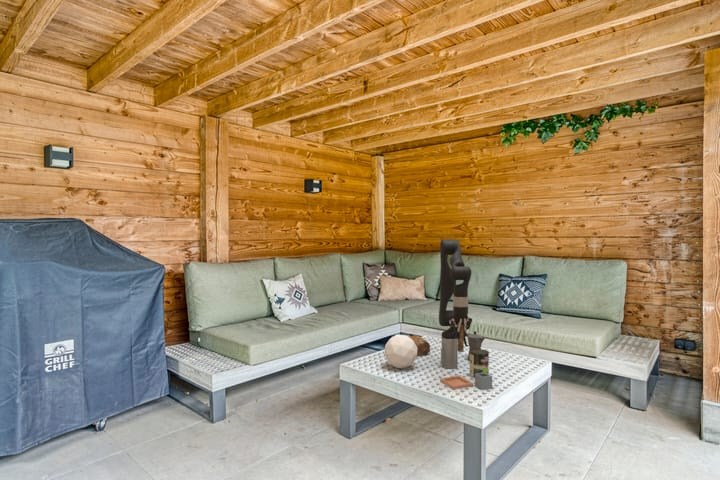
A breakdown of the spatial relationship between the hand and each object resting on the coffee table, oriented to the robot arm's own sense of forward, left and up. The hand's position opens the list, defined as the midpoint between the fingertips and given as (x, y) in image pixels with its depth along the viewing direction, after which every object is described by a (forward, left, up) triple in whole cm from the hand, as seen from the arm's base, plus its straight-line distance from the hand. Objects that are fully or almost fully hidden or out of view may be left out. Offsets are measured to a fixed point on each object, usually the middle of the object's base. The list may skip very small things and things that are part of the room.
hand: (460, 338), depth 214 cm
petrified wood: (-61, +9, -25) cm, 67 cm away
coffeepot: (-33, +33, -25) cm, 53 cm away
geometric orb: (-38, -15, -25) cm, 48 cm away
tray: (-1, -2, -25) cm, 25 cm away
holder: (+8, +8, -25) cm, 27 cm away
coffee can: (-7, +17, -25) cm, 31 cm away
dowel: (0, 0, -7) cm, 7 cm away
